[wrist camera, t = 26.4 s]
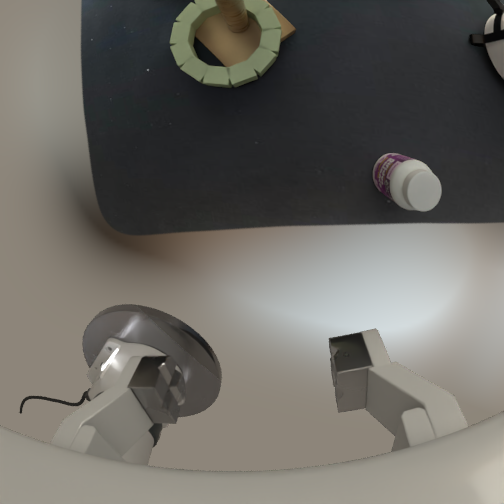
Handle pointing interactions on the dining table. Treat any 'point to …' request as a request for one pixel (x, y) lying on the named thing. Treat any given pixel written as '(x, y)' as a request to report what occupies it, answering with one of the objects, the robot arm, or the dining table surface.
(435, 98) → the dining table surface
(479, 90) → the dining table surface
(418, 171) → the pill bottle
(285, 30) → the hanger post
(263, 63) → the ring
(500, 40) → the coffee press
